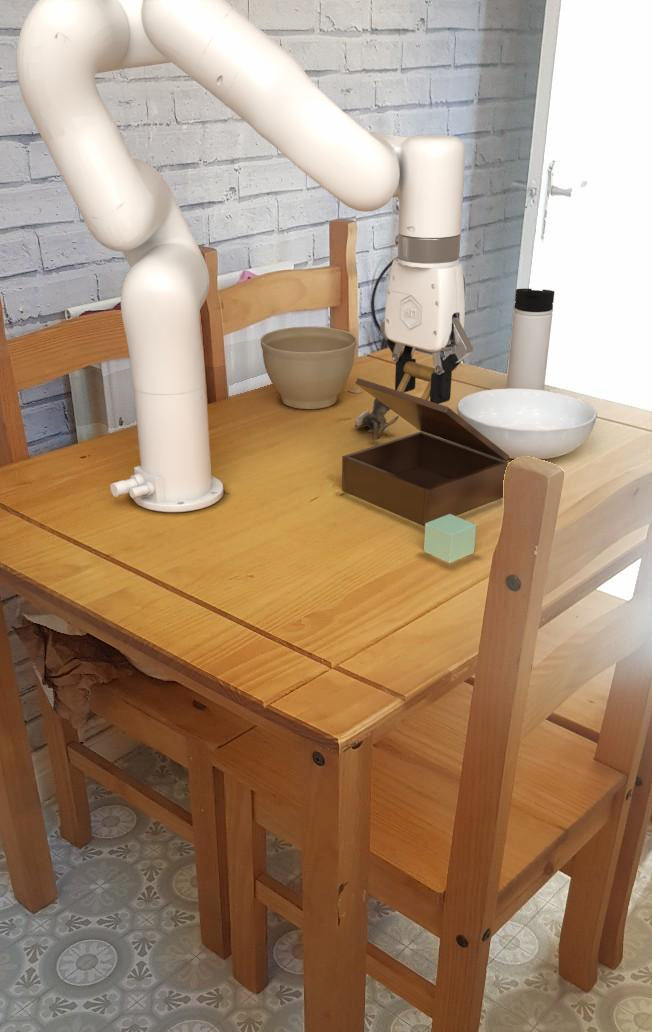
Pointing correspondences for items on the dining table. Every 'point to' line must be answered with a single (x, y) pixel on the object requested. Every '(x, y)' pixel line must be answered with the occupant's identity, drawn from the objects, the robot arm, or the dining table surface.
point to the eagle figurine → (376, 419)
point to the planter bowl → (308, 364)
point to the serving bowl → (529, 420)
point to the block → (449, 538)
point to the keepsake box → (423, 477)
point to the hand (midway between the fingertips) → (422, 395)
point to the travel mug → (530, 339)
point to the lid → (430, 412)
